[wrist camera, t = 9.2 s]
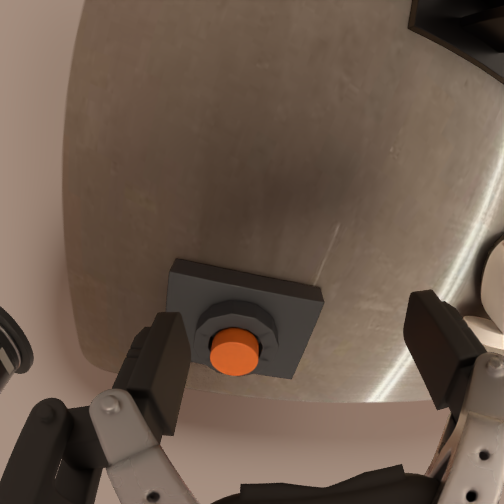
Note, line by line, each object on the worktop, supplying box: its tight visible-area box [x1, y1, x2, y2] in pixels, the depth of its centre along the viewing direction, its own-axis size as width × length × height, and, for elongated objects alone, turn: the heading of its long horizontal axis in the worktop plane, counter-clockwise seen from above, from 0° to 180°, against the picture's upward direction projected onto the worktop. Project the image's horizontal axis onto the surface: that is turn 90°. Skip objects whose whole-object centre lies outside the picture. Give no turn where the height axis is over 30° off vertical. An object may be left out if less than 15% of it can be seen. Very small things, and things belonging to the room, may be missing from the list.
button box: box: [166, 259, 324, 379], centre depth 26 cm, size 12×9×4 cm
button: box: [210, 328, 259, 376], centre depth 24 cm, size 4×4×2 cm
